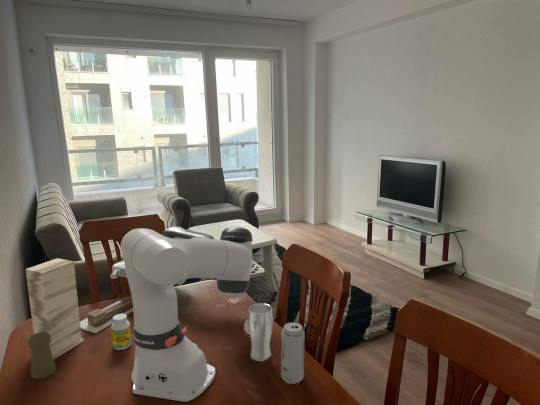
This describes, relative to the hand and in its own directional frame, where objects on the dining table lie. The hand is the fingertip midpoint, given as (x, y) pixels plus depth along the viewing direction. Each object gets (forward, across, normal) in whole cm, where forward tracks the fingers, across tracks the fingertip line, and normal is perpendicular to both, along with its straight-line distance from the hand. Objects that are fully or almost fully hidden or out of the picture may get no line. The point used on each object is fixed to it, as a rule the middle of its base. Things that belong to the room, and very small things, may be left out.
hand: (121, 278), depth 138 cm
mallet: (+5, -1, -11) cm, 12 cm away
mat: (+7, +1, -12) cm, 14 cm away
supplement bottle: (+19, -17, -12) cm, 28 cm away
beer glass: (+6, -58, -12) cm, 60 cm away
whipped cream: (-5, -50, -13) cm, 52 cm away
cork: (+37, -7, -12) cm, 39 cm away
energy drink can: (+12, -70, -13) cm, 72 cm away
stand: (+27, 0, -12) cm, 29 cm away
